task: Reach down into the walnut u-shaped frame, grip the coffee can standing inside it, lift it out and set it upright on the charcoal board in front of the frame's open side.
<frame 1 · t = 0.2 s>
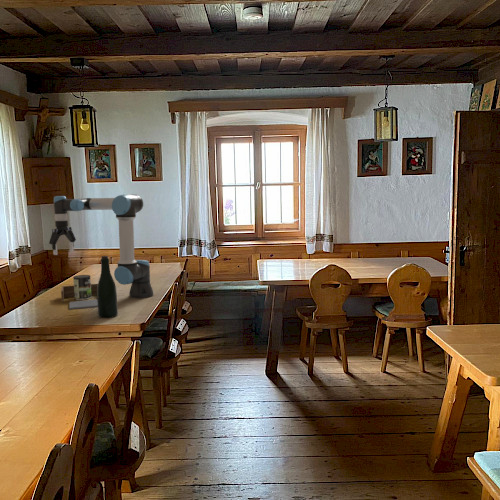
hand: (63, 253, 326), 27 cm above the table, tool pointing down, fingers open, 13 cm apart
coffee can: (83, 298, 321), on the table
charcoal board: (83, 305, 302), on the table
walnut u-shaped frame: (83, 298, 321), on the table
green wine bottle: (108, 316, 277), on the table
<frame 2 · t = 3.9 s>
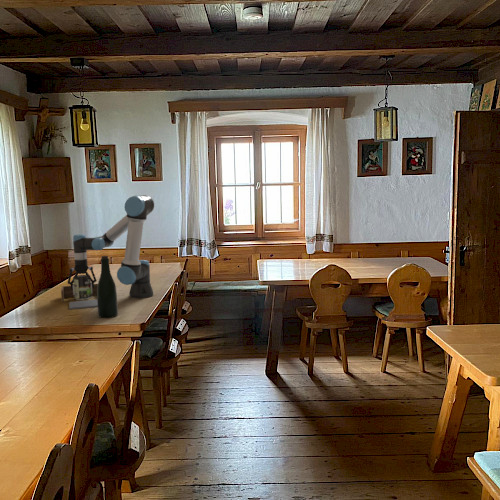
hand: (82, 293, 320), 3 cm above the table, tool pointing down, fingers closed on coffee can, 10 cm apart
coffee can: (83, 298, 321), on the table, touching gripper
everything else where it was.
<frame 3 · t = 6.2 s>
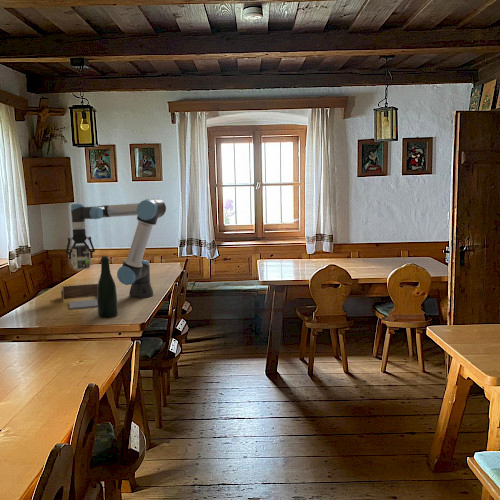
hand: (81, 264, 318), 22 cm above the table, tool pointing down, fingers closed on coffee can, 10 cm apart
coffee can: (81, 268, 318), point 19 cm above the table, touching gripper
everything else where it was.
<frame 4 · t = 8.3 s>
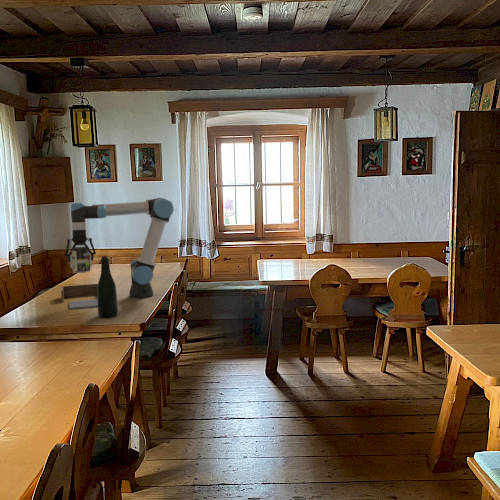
hand: (81, 266, 299), 23 cm above the table, tool pointing down, fingers closed on coffee can, 10 cm apart
coffee can: (81, 271, 299), point 20 cm above the table, touching gripper
everything else where it was.
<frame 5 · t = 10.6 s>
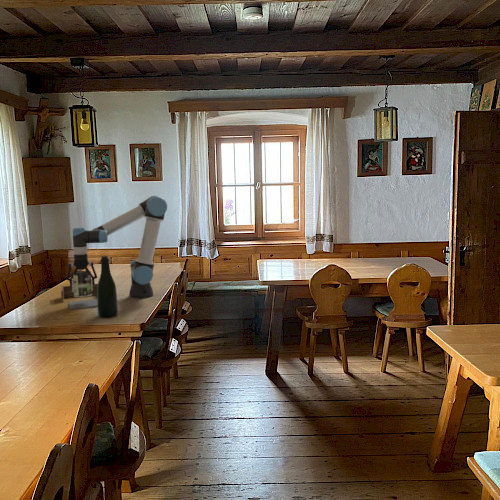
hand: (82, 290, 301), 9 cm above the table, tool pointing down, fingers closed on coffee can, 10 cm apart
coffee can: (82, 295, 301), point 6 cm above the table, touching gripper
everything else where it was.
when the fingers open (5 cm above the table, at t = 12.5 s): coffee can stays where it is, resting on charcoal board.
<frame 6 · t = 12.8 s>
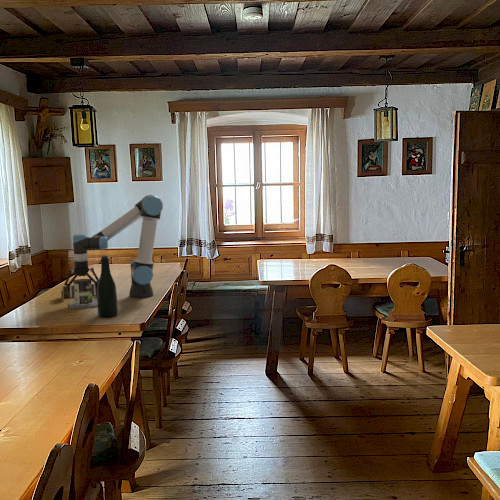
hand: (83, 295, 301), 6 cm above the table, tool pointing down, fingers open, 13 cm apart
coffee can: (83, 303, 302), point 1 cm above the table, touching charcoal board
everything else where it was.
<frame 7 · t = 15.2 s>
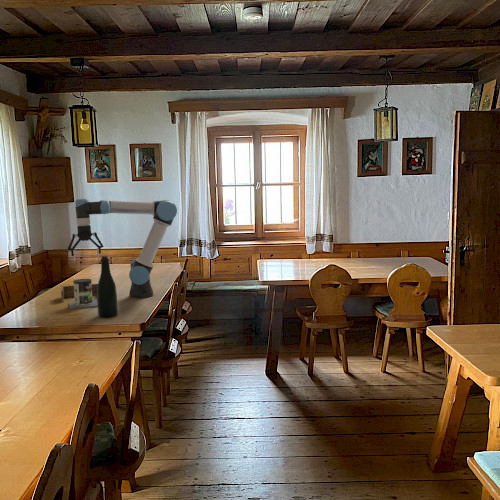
hand: (86, 260, 303), 26 cm above the table, tool pointing down, fingers open, 13 cm apart
nothing on the table moved.
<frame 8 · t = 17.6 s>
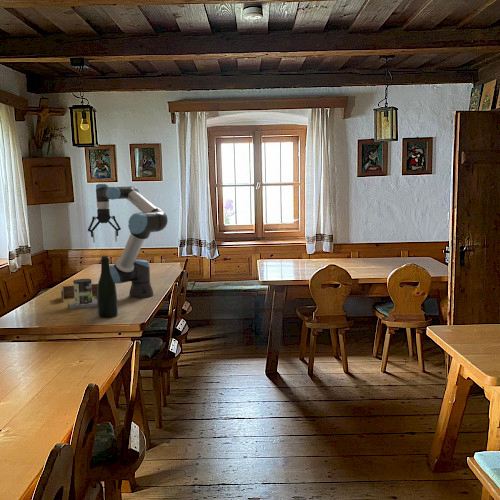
hand: (105, 241, 324), 35 cm above the table, tool pointing down, fingers open, 13 cm apart
nothing on the table moved.
at the end: coffee can inside the target area on the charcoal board (0.1 cm from its centre), point 0.8 cm above the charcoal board's base; coffee can tilted 0°; the gripper is holding nothing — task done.
